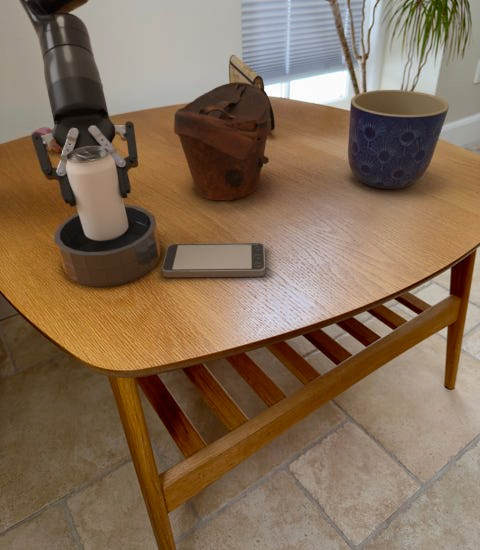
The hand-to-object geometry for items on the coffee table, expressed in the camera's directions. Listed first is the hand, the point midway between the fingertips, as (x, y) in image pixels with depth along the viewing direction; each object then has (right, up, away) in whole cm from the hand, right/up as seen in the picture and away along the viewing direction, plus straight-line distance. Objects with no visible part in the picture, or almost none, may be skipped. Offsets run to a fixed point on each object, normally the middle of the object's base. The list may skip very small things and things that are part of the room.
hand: (99, 200), depth 60 cm
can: (0, -4, +5) cm, 6 cm away
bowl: (0, -8, +8) cm, 11 cm away
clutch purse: (+23, +31, +59) cm, 70 cm away
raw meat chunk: (-25, +20, +46) cm, 56 cm away
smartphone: (+16, -9, +6) cm, 19 cm away
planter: (+49, +9, +28) cm, 57 cm away
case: (+17, +7, +27) cm, 32 cm away
